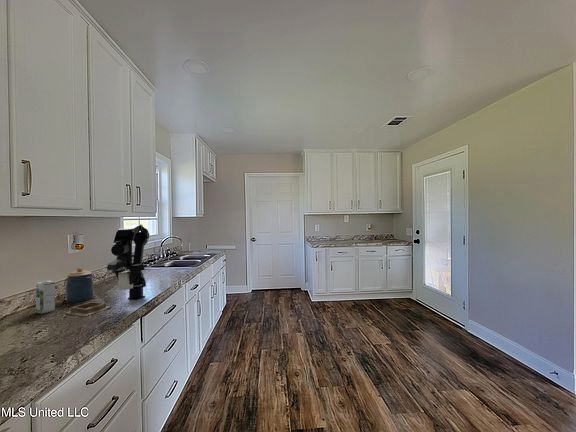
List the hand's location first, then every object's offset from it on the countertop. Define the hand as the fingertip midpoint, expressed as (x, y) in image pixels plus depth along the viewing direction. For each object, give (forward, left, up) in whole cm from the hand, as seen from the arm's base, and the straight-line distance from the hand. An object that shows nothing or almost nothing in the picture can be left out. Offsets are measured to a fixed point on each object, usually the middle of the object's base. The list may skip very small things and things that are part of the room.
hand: (125, 284), depth 141 cm
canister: (-4, -38, -12) cm, 40 cm away
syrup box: (+16, -33, -12) cm, 38 cm away
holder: (+9, -13, -12) cm, 20 cm away
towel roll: (0, 0, -2) cm, 2 cm away
